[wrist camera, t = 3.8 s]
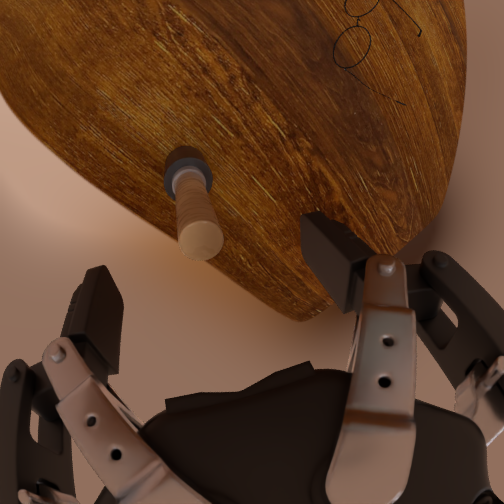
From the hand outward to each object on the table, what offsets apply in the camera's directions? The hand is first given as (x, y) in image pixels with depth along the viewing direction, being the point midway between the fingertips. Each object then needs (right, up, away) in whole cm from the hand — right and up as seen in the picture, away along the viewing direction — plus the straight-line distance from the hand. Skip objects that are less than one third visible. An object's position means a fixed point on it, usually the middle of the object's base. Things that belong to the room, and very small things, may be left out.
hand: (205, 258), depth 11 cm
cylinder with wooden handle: (-4, +8, +13) cm, 15 cm away
